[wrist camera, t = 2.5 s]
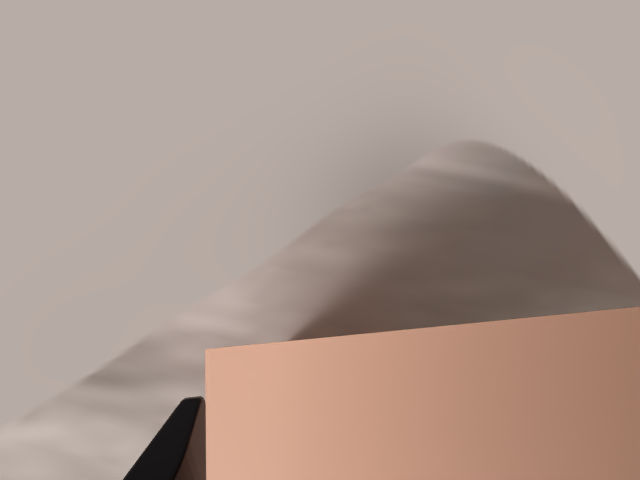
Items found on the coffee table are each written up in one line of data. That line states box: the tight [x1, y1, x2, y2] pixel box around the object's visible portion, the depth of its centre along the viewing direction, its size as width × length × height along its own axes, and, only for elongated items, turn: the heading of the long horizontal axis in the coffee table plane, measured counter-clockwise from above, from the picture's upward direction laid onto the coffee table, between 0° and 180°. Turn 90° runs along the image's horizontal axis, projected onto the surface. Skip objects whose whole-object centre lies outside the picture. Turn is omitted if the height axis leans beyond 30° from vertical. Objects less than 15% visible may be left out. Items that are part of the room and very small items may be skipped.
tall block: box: [205, 307, 640, 480], centre depth 9 cm, size 5×5×12 cm
